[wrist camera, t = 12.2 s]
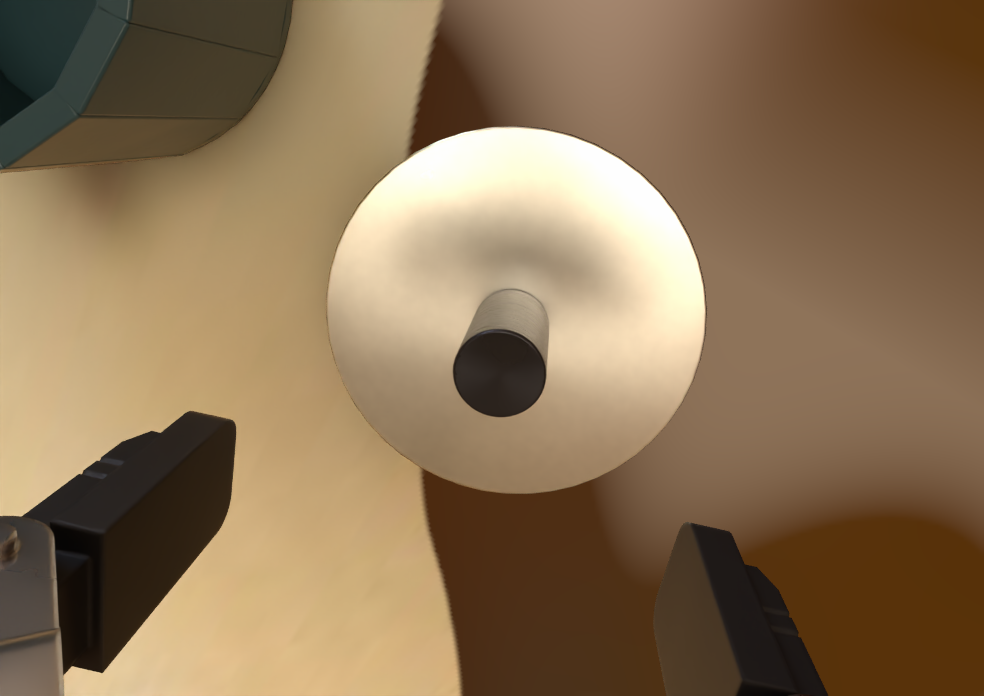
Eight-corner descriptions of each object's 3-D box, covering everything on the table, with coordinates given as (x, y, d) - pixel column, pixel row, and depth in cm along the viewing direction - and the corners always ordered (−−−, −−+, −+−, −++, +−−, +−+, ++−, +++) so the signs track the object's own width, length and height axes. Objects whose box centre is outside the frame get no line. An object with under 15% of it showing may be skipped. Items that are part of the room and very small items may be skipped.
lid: (305, 421, 27) (236, 502, 21) (380, 75, 22) (318, 59, 17) (625, 519, 26) (642, 626, 21) (760, 192, 22) (828, 215, 17)
